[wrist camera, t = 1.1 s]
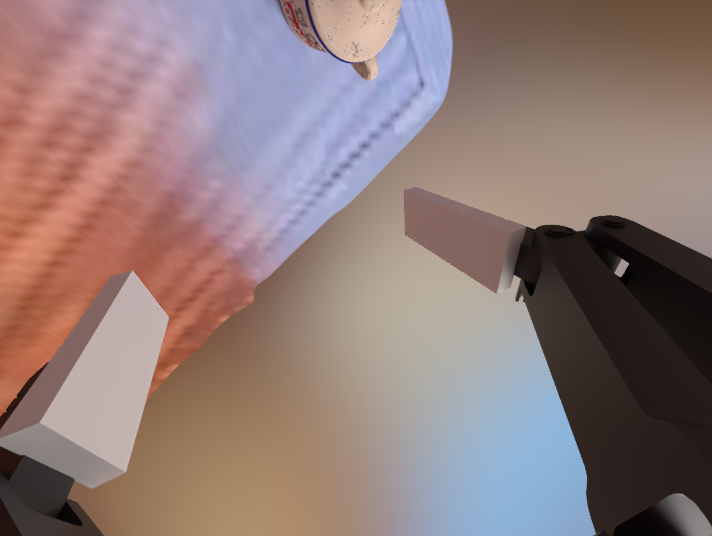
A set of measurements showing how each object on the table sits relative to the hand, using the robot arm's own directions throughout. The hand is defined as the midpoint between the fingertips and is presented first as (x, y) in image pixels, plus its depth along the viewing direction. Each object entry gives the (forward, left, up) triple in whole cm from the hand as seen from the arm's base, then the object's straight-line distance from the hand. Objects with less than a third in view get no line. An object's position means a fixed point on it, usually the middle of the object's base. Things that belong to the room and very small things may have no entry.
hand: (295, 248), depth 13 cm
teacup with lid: (-11, +10, -27) cm, 31 cm away
